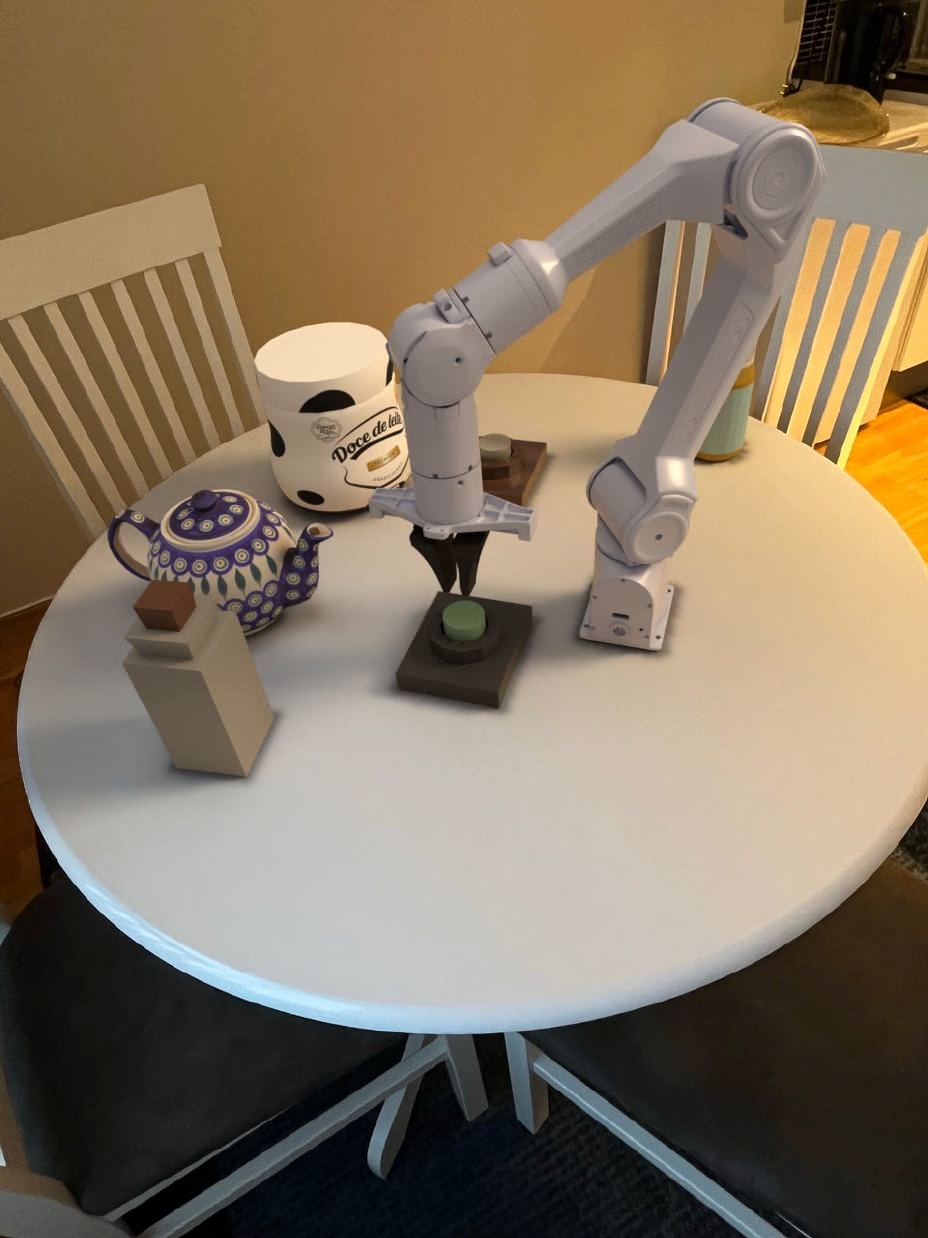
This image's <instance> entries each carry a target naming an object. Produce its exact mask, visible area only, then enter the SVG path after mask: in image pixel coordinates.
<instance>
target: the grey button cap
mask: <svg viewBox="0 0 928 1238" xmlns="http://www.w3.org/2000/svg"><path fill="white" fill-rule="evenodd" d="M482 436H483V437H481V438H480V439H479V446H480V458H481V460H483V461H489V462H497V461H503V460H505V459H507V458H509V457H510V456H511V440H510V438H511V437H509V435H506V434H503V433H498V432H497V433H495V432H493V433H488V434H485V435H482Z"/></svg>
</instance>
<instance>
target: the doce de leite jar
mask: <svg viewBox="0 0 928 1238" xmlns="http://www.w3.org/2000/svg"><path fill="white" fill-rule="evenodd" d="M386 342H388V339H387V338H386V337H385V336H384V333H382V331H380V330H378V329H376V328H374V327H372V326H370V325H367V324H361V323H355V322H350V321H348V322H347V321H346V322H345V321H343V322H339V321H338V322H333V321H332V322H323V323H317V324H310V325H304V326H301V327H299V328H295V329H292V330H289V331H285V332H284V333H282V334H280V335H278V336H276V337H273V338H272V339H270V340H268V341H267V342H266V343H265V344H264V345H262V347H260V348H259V349H258V351H257V352H256V355H255V357H254V360H253V363H254V372H255V373H254V374H255V380H256V383H257V386H258V388H259V389H258V390H259V391H260V400H261V403H262V406H263V410H264V413H265V416H266V418H267V422H268V423H267V424H268V426H269V432H270V446H269V447H270V448H269V449H270V450H269V454H270V464H271V469H272V472H273V475H274V477H275V480H276V481H277V483H278V485H279V487H280V490H281V491H282V493H283V494H284V495H285V497H287V498H288V499H289V500H290V501H291V502H292V503H294V504H295V505H297V506H298V507H300V508H303V509H306V510H309V511H313V512H317V513H321V514H322V513H323V514H324V513H325V514H328V513H329V514H330V513H331V514H345V513H351V512H357V511H362V510H366V509H368V508H369V504H368V499H369V498H370V496H371V495H372V494H373V492H374V491H375V489H376V488H389V489H393V488H404V485H405V484H406V483H407V481H408V480H409V477H410V475H411V467H410V460H409V454H408V447H407V440H406V433H405V426H404V419H403V412H402V411H401V408H400V407H401V406H400V404H399V398H398V397H399V396H398V389H397V388H398V387H397V381H396V380H397V379H396V373H395V371H394V364H393V362H392V361H391V359H390V357H389V355H388V353H387V350H386V347H385V344H386Z"/></svg>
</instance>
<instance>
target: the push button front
mask: <svg viewBox="0 0 928 1238" xmlns="http://www.w3.org/2000/svg"><path fill="white" fill-rule="evenodd" d="M458 601H473V602H475V603H477V604H479V605H480V606H481V607H482V608H483V609H484V612H485V623H486V629H485V631H484V633H483V635H482V636H480V637H479V638H477V639H476V640H472V641H467V642H459V641H453V640H451V639H449V638H448V637H447V636H446V634H445V632H444V627H443V619H442V614H443V612H444V610H445V609H446V607H448V606H449V605H450V604H452V603H455V602H458ZM533 621H534V620H533V605H531V604H526V603H525V604H524V603H517V602H511V601H505V600H498V599H493V598H488V597H487V598H486V597H480V596H475V595H473V596H472V595H470V596H465V595H462V594H460V593H455V592H450V593H447V592H443V590H438V591H437V592H436V594H435V597H434V598H433V600H432V602H431V604H430V605H429V608H428V610H427V612H426V613H425V616H424V617H423V619H422V621H421V623H420V625H419V627H418V629H417V630H416V633H415V635H414V637H413V638H412V641H411V643H410V644H409V646H408V648H407V650H406V652H405V654H404V656H403V658H402V660H401V662H400V663H399V666H398V668H397V669H396V672H395V678H396V682H397V688H398V690H402V691H408V692H413V693H417V694H423V695H427V696H431V697H432V696H433V697H439V698H444V699H449V700H453V701H459V702H464V703H469V704H473V705H479V706H484V707H490V708H494V709H500V708H501V706H502V703H503V699H504V697H505V695H506V692H507V689H508V686H509V684H510V682H511V679H512V677H513V674H514V671H515V668H516V666H517V663H518V661H519V659H520V655H521V653H522V650H523V648H524V645H525V642H526V640H527V638H528V635H529V633H530V629H531V627H532V625H533Z"/></svg>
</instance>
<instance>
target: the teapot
mask: <svg viewBox="0 0 928 1238" xmlns="http://www.w3.org/2000/svg"><path fill="white" fill-rule="evenodd" d="M123 523H127V524H129V525H131V526H133V527H134V528H135V529H136V530H138V532H140V533H141V534H142V535H143V536H144V538H145V539H146V540H147V542H148V543H149V545H148V549H147V556H146V557H147V558H146V559H147V560H146V561H147V566H146V565H144V564H142V563H141V562H139V561H138V560H136V559H135V558H134V557H133V556H131V554H130V553H129V552H128V550H127V549H126V547H125V546H124V543H123V539H122V537H121V526H122V525H123ZM332 537H334V531H333V529H332V528H331V527H330V526H328V525H327V524H325V523H322V522H315V521H314V522H312V523H310V524H308V525H306V526H305V527H304V529H303V530H302V532H301V533H300V536H299V537H298V540H297V541H296V538H295V536H294V533H293V531H292V529H291V528H290V525H289V524H288V522H287V520H286V519H285V518H284V517H283V515H281V514H280V512H278V511H277V510H276V509H274V508H273V507H271V506H270V505H268V504H267V503H265V502H263V501H261V500H258V499H254V498H253V497H252V496H251V495H249V494H247V493H246V492H245V493H244V492H242V491H240V490H237V489H227V488H225V489H222V488H221V489H212V490H211V489H202V490H198V491H197V492H195V493H193V495H192V496H189V497H187V498H185V499H183V500H181V501H180V502H178V503H177V504H175V505H174V506H172V507H171V508H170V509H169V510H168V511H167V512H166V514H165V515H164V516H163V518H162V520H161V522H156V521H154V520H153V519H152V518H149V517H148V516H146V515H145V514H142V513H140V512H138V511H136V510H133V509H129V508H125V509H122V510H120V511H119V512H117V513H116V514H115V515H114V516H113V518H112V519H111V521H110V522H109V525H108V529H107V542H108V546H109V548H110V549H109V550H111V553H112V554H113V556H114V558H115V559H116V561H117V562H118V563H119V565H121V566H122V567H123V568H124V569H125V570H126V571H127V572H129V573H130V574H131V575H133V576H134V577H135V576H136V577H137V578H139V579H141V580H143V581H146V582H151V581H152V580H163V581H176V582H189V583H190V584H191V588H192V591H193V594H197V595H209V596H217V610H221V611H233V612H236V614H237V617H238V620H239V623H240V625H241V628H242V631H243V634H244V636H250V635H252V634H255V633H258V632H259V631H261V630H263V629H265V628H266V627H268V626H269V625H270V624H272V623H273V622H274V621H275V620H276V619H277V618H278V617H279V616H281V614H282V613H284V612H285V610H286V609H287V608H289V607H292V606H293V607H294V606H297V605H302V604H303V603H305V602H306V601H308V600H310V599H311V598H312V596H313V595H314V593H315V592H316V590H317V588H318V586H319V579H320V558H319V546H320V544H321V543H323V542H324V541H327V540H329V539H331V538H332Z"/></svg>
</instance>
